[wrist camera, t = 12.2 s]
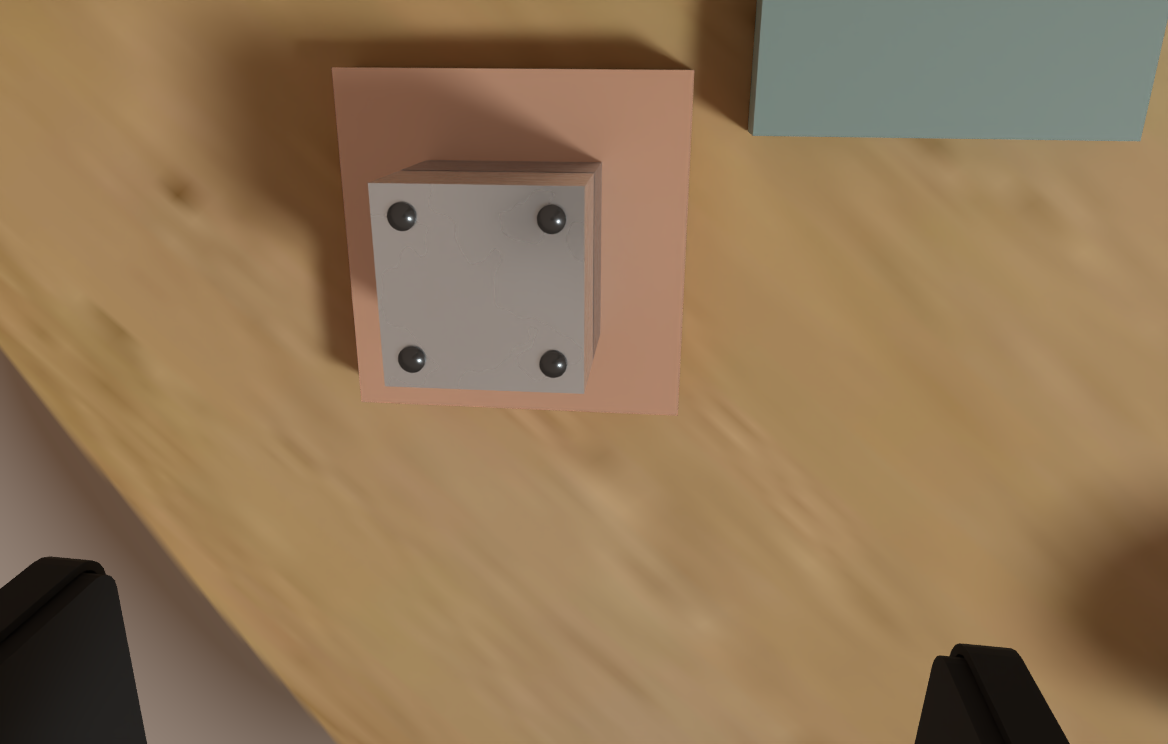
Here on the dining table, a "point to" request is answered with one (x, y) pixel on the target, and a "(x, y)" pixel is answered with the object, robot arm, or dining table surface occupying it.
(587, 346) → the housing
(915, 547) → the dining table surface
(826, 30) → the stand
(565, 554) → the dining table surface
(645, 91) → the stand
